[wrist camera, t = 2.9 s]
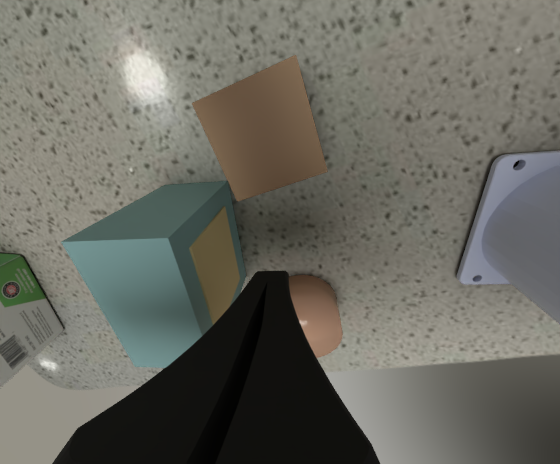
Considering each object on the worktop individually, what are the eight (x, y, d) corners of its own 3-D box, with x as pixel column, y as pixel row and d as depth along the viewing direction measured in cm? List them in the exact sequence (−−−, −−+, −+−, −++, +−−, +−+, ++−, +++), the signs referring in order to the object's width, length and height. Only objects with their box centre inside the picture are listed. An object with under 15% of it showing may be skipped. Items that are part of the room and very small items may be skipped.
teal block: (229, 180, 14) (170, 237, 8) (247, 275, 17) (216, 369, 11) (163, 184, 14) (58, 241, 8) (193, 276, 18) (133, 366, 11)
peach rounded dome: (336, 273, 16) (343, 305, 14) (336, 323, 19) (342, 359, 16) (266, 275, 17) (259, 306, 14) (274, 323, 19) (269, 358, 17)
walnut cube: (298, 72, 11) (295, 54, 8) (321, 154, 13) (327, 171, 9) (224, 105, 12) (191, 103, 9) (254, 177, 14) (237, 201, 10)
